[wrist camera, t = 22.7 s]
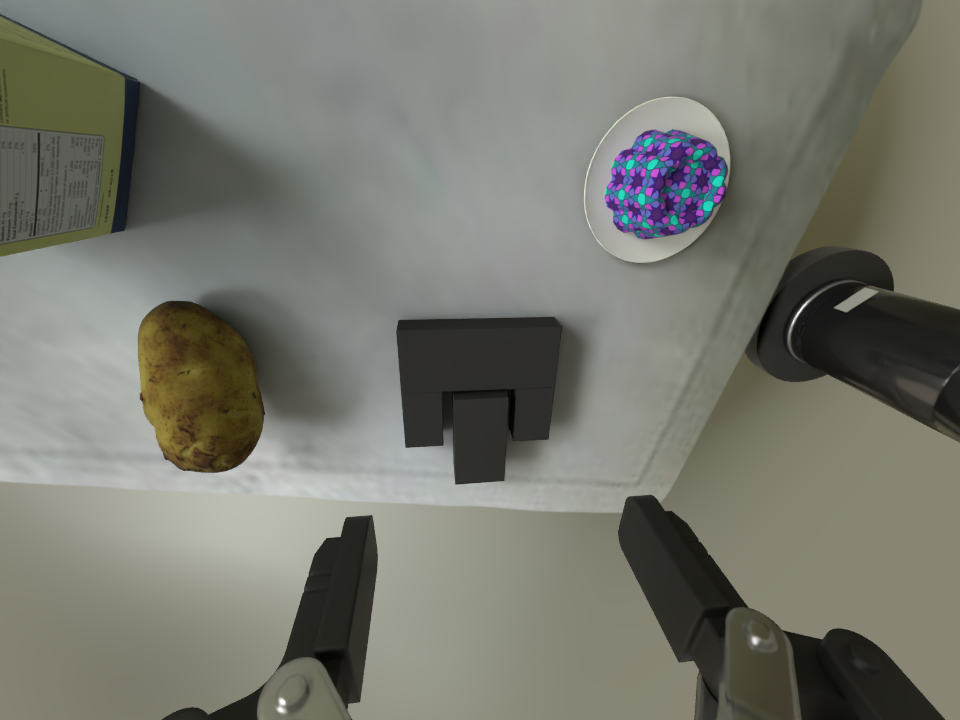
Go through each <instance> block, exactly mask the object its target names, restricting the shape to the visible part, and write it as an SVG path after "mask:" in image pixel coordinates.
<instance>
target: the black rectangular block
mask: <svg viewBox="0 0 960 720" xmlns="http://www.w3.org/2000/svg"><path fill="white" fill-rule="evenodd" d="M508 401H509V397H508V394H507V391H506V389H498V390H474V391H452V408H453V453H454V473H455V484H469V483H482V482H495V481H504V477H505V458H506V439H507V420H508Z"/></svg>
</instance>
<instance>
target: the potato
mask: <svg viewBox="0 0 960 720" xmlns="http://www.w3.org/2000/svg"><path fill="white" fill-rule="evenodd" d="M138 358H139V369H140V379H141V393H140V400H141V401H142V403H143V409H144V413H145V415H146V417H147V419H148V421H149V422H150V423H151V424H152V425H153V426H154V427H155V432H156V437H157V441H158V444H159V447H160V449H161V450H162V452H163V455H164V458H165V459H166V460H169V461H171V462H172V463H173V464H174V465H175V466H176V467H178V468H179V469H181V470H183V471H195V472H205V473H218V472H224V471H227V470H230V469H233V468H235V467H237V466H238V465H240V464H242V463H243V462H244V461H245V460H246V459H247V457H248V456H249V455H250V454H251V453H252V451H253V450H254V448H255V447H256V444H257V442H258V440H259V438H260V435H261V432H262V428H263V421H264V414H265V412H264V407H263V402H262V397H261V393H260V390H259V387H258V383H257V367H256V363H255V361H254V358H253V356H252V354H251V352H250V350H249V348H248V347H247V345H246V343H245V342H244V340H243V339H242V338H241V336H240V335H239V334H238V333H237V332H236V331H235V330H234V329H233V328H232V327H231V326H230V325H229V324H228V323H227V322H225V321H224V320H223V319H221V318H220V317H218V316H217V315H215V314H214V313H212V312H211V311H209V310H208V309H206V308H204V307H202V306H200V305H198V304H195V303H193V302H187V301H167V302H165V303H162V304H160V305H159V306H157V307H155V308H154V309H153V310H152V311H150V312H149V313H148V314H147V315H146V316H145V318H144V319H143V320H142V323H141V325H140V328H139V333H138Z"/></svg>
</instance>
